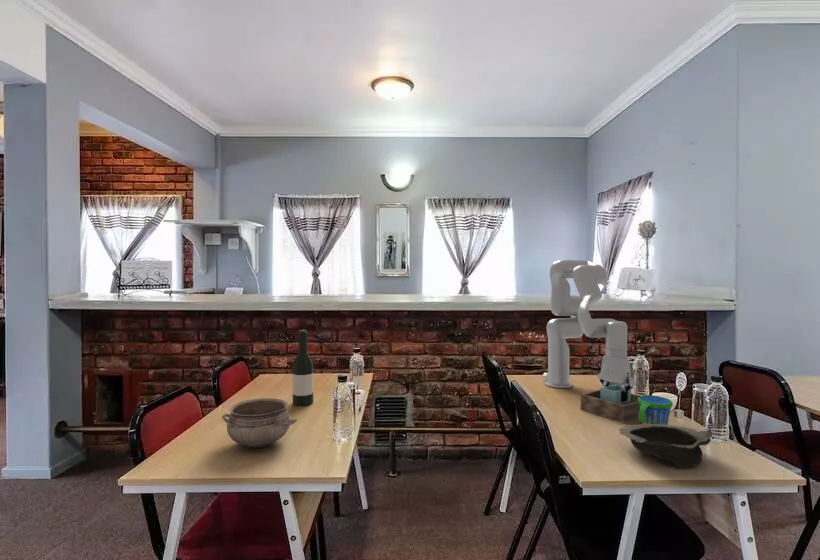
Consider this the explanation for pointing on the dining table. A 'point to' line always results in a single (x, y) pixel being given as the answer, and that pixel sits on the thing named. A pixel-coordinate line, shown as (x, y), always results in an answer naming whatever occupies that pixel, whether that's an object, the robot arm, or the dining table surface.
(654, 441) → the stone bowl
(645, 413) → the snack cup
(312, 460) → the dining table surface
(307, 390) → the wine bottle
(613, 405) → the big crate
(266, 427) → the cooking pot
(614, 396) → the small crate
